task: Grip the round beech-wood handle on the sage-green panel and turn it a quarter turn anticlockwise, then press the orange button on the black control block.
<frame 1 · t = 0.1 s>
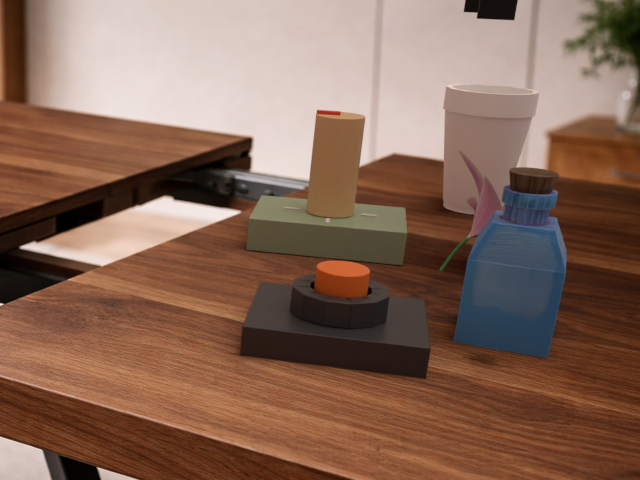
hand: (486, 16, 80), 21 cm above the table, tool pointing down, fingers open, 13 cm apart
panel: (326, 243, 91), on the table
foam cup: (472, 210, 107), on the table
handle: (335, 162, 88), point 8 cm above the table, hinge at 0.0°
lily: (486, 274, 84), on the table
perfume bottle: (502, 339, 69), on the table
button: (341, 280, 65), point 5 cm above the table, slide at 0.2 cm
button block: (334, 341, 67), on the table
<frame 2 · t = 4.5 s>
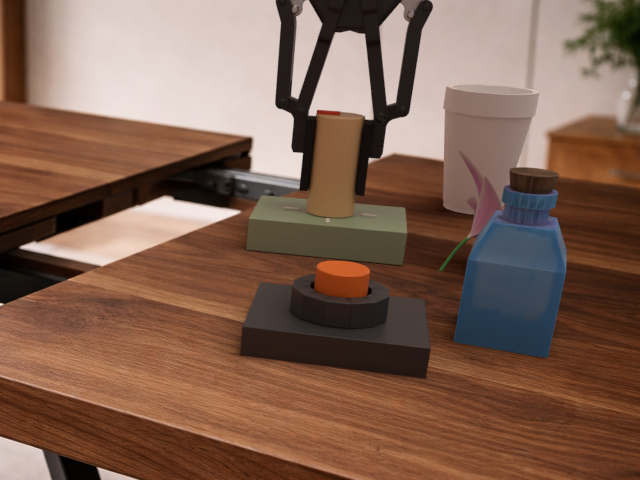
hand: (332, 189, 89), 5 cm above the table, tool pointing down, fingers closed on handle, 4 cm apart
handle: (335, 162, 88), point 8 cm above the table, hinge at 0.0°, touching gripper
everything else where it was.
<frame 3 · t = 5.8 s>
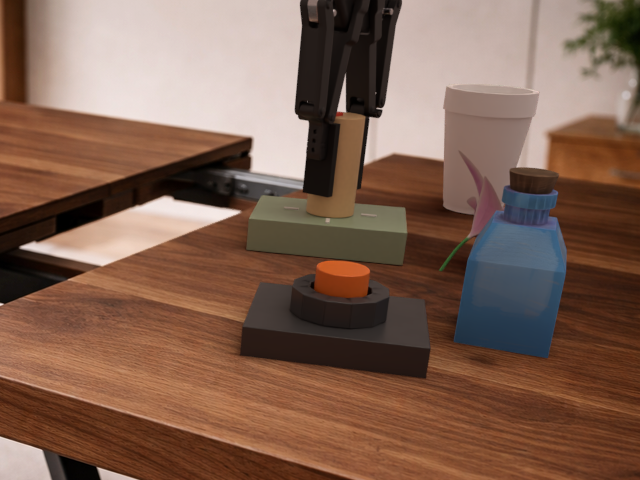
hand: (332, 189, 89), 5 cm above the table, tool pointing down, fingers closed on handle, 4 cm apart
handle: (335, 162, 88), point 8 cm above the table, hinge at 61.2°, touching gripper
everything else where it was.
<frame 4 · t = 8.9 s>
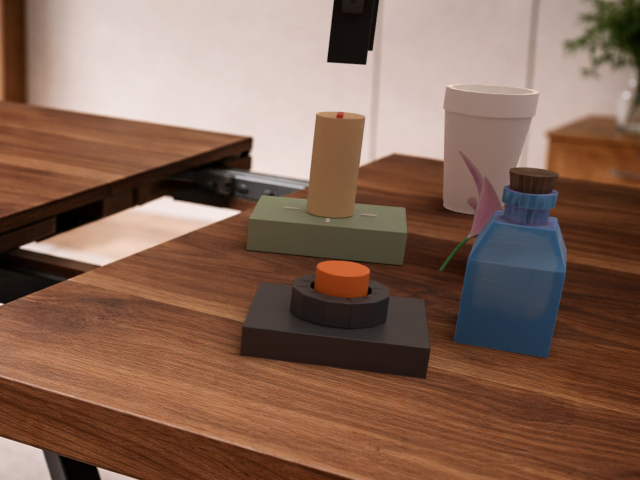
hand: (351, 56, 73), 18 cm above the table, tool pointing down, fingers open, 13 cm apart
handle: (335, 162, 88), point 8 cm above the table, hinge at 89.5°
everything else where it was.
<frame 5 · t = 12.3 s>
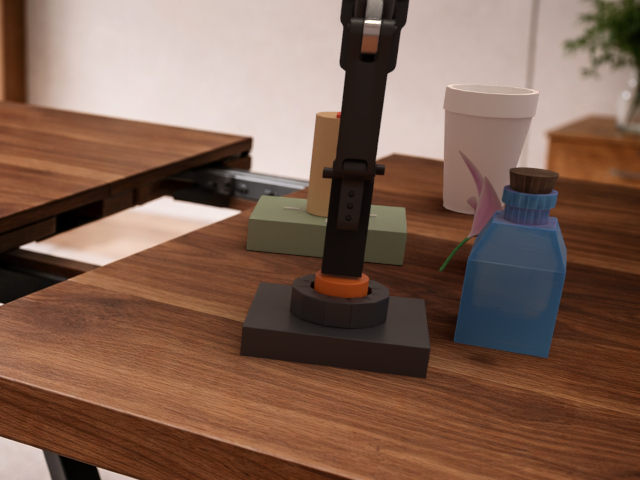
hand: (341, 272, 65), 5 cm above the table, tool pointing down, fingers closed
button: (340, 287, 65), point 4 cm above the table, slide at -0.4 cm, touching gripper
everything else where it was.
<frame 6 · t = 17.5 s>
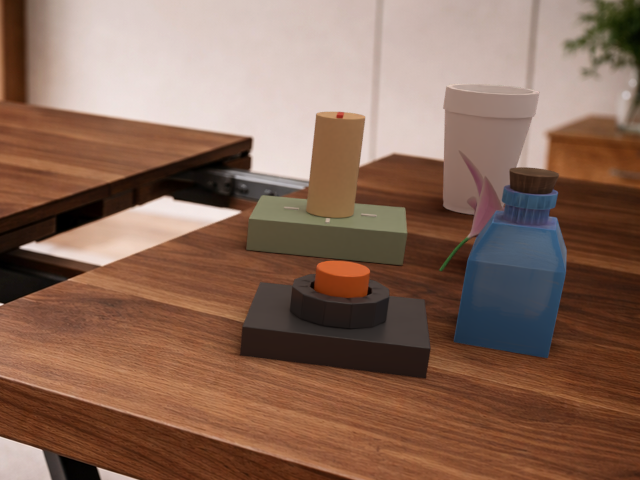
button: (341, 280, 65), point 5 cm above the table, slide at 0.2 cm
everything else where it was.
at the end: handle at +90° (first picture: +0°); button pushed in 1.0 cm at the most during the clip, back to 0.2 cm at the end; button slide at 0.2 cm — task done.
